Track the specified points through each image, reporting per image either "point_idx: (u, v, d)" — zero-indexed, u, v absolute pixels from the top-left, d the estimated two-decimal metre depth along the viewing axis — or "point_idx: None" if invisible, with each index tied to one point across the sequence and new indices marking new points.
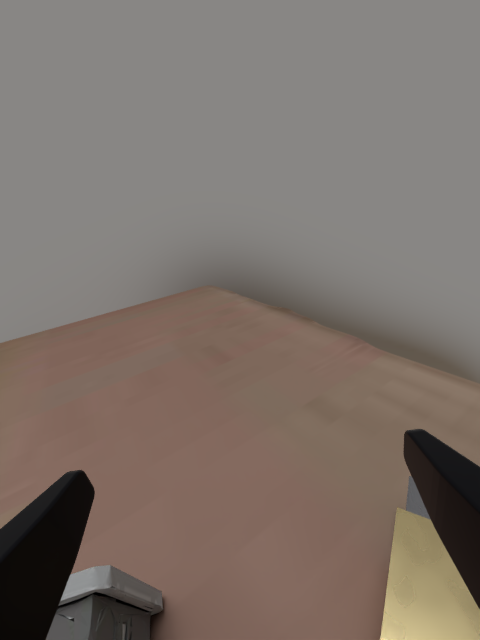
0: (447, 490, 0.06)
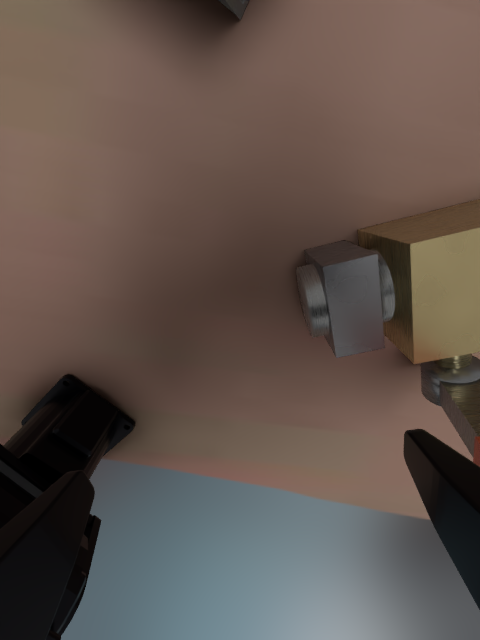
0: (447, 490, 0.06)
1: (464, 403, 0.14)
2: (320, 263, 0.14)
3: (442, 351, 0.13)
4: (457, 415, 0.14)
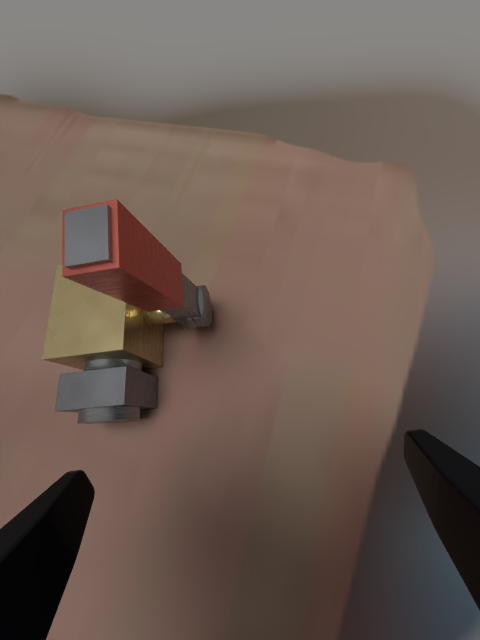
0: (447, 490, 0.06)
1: None
2: None
3: (118, 331, 0.18)
4: (175, 312, 0.18)
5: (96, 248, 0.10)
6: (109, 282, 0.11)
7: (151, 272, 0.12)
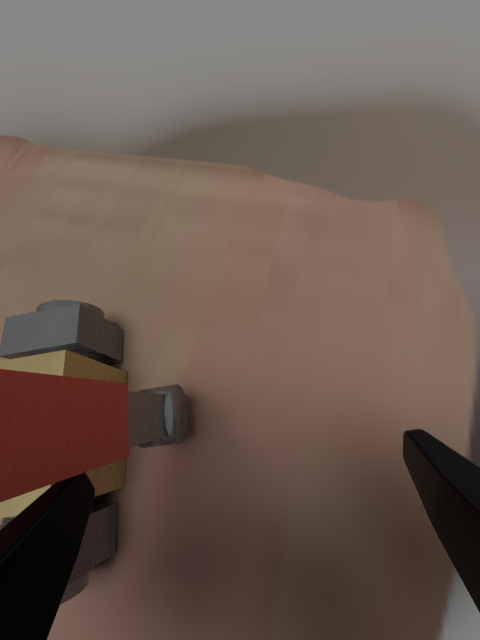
0: (446, 490, 0.06)
1: None
2: None
3: None
4: None
5: None
6: None
7: (36, 456, 0.06)
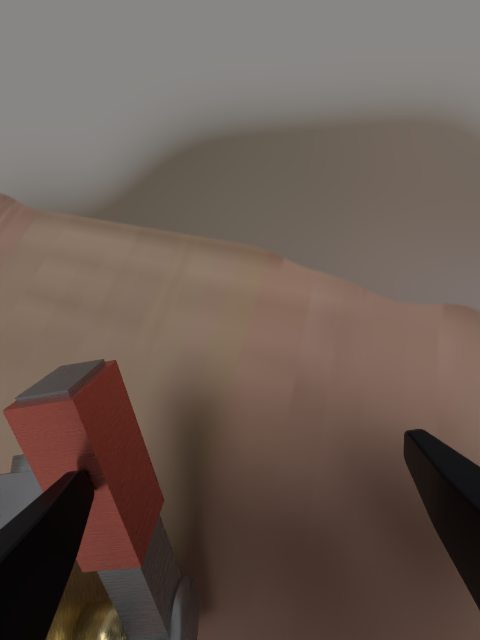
0: (447, 490, 0.06)
1: None
2: None
3: None
4: (127, 603, 0.10)
5: (63, 383, 0.08)
6: (51, 441, 0.08)
7: (113, 455, 0.09)
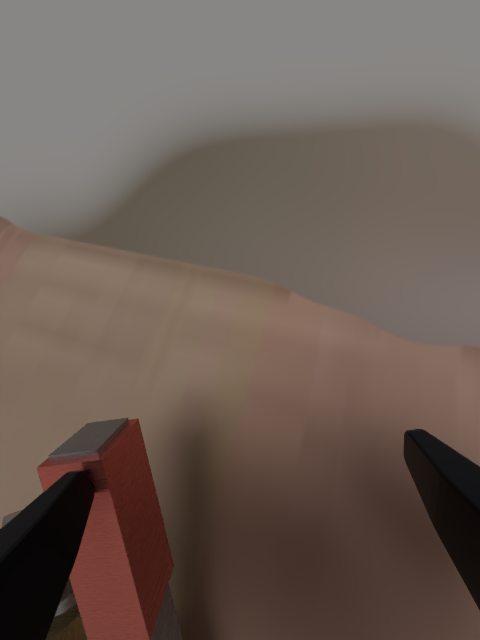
0: (447, 490, 0.06)
1: None
2: None
3: None
4: None
5: (92, 442, 0.09)
6: None
7: (131, 515, 0.09)
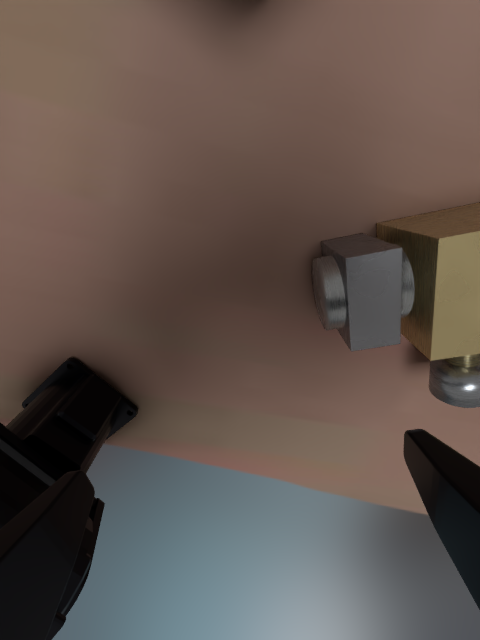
0: (447, 490, 0.06)
1: None
2: (342, 254, 0.13)
3: (459, 349, 0.13)
4: None
5: None
6: None
7: None
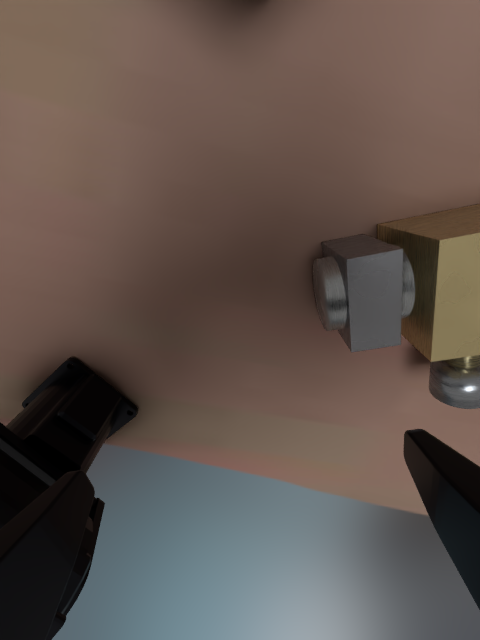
0: (447, 490, 0.06)
1: None
2: (343, 255, 0.13)
3: (460, 350, 0.13)
4: None
5: None
6: None
7: None
